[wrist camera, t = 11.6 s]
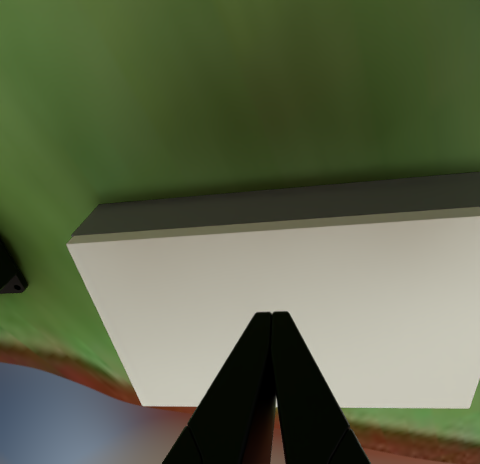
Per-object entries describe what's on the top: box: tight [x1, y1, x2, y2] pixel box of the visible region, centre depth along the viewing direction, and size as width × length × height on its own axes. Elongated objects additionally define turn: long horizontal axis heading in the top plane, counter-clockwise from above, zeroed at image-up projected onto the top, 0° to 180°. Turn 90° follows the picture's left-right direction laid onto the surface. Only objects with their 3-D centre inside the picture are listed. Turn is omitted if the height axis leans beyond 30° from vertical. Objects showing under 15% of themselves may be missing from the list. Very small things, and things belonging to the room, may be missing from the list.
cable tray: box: [71, 172, 480, 237], centre depth 23 cm, size 22×16×4 cm
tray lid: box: [66, 207, 480, 408], centre depth 20 cm, size 22×14×1 cm, turn 98°
